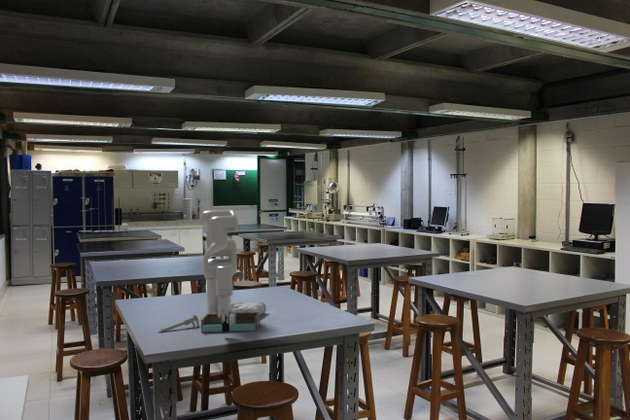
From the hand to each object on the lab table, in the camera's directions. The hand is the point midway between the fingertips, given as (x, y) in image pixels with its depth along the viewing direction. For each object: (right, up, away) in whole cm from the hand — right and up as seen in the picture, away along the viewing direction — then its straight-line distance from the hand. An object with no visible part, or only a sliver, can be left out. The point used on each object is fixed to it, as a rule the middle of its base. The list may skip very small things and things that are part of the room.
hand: (225, 331), depth 233 cm
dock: (0, -2, +16) cm, 16 cm away
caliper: (-26, -3, +16) cm, 31 cm away
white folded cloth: (+3, -2, +39) cm, 40 cm away
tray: (0, -2, +15) cm, 15 cm away
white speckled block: (0, -2, +15) cm, 15 cm away
